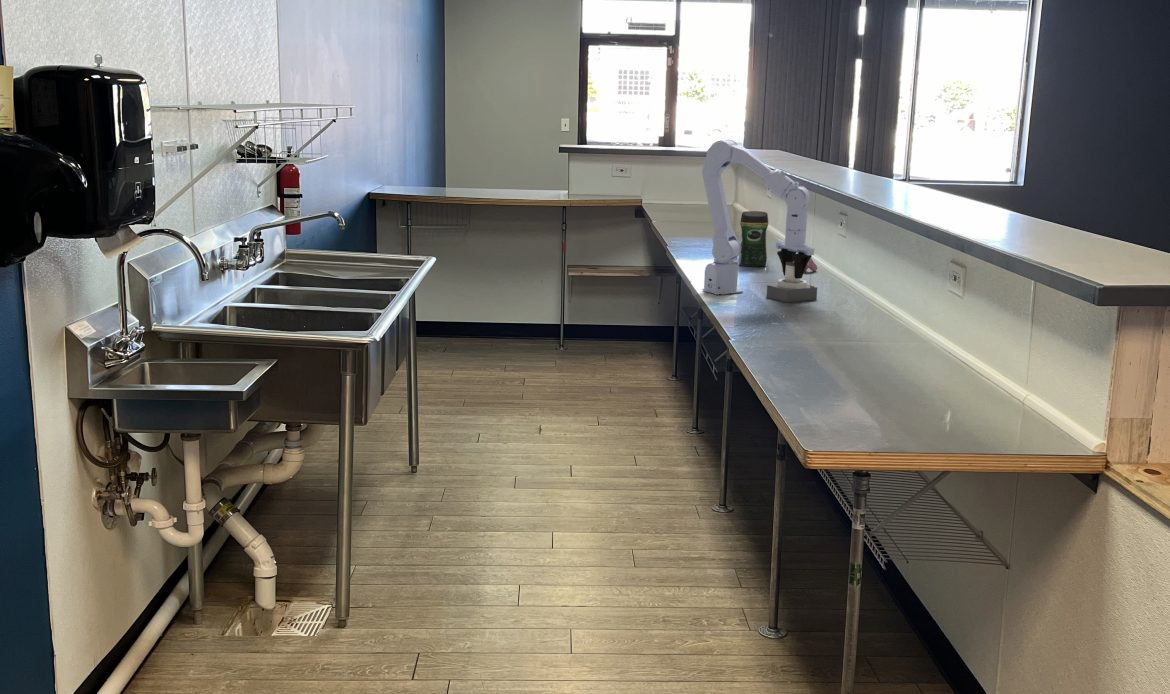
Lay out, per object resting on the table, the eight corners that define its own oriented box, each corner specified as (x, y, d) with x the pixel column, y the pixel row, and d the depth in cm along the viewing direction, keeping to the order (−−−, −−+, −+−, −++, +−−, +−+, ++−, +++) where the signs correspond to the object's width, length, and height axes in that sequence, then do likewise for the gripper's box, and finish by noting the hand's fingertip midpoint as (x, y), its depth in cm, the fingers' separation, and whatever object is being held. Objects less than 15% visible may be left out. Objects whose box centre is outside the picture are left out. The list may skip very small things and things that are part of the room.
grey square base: (786, 302, 292) (787, 285, 291) (766, 296, 300) (767, 279, 298) (816, 299, 297) (817, 282, 296) (796, 293, 305) (797, 277, 304)
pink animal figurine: (786, 273, 349) (782, 256, 345) (793, 266, 351) (790, 248, 348) (812, 277, 342) (808, 259, 339) (819, 269, 345) (815, 252, 341)
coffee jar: (765, 263, 358) (769, 210, 354) (766, 267, 350) (770, 212, 346) (737, 262, 359) (740, 209, 355) (738, 266, 351) (741, 212, 347)
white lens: (791, 284, 294) (792, 263, 293) (781, 282, 298) (782, 261, 297) (803, 283, 296) (804, 262, 295) (793, 281, 300) (794, 260, 299)
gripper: (823, 232, 289) (820, 279, 293) (790, 226, 302) (787, 271, 305) (804, 233, 286) (801, 281, 289) (771, 227, 298) (768, 273, 302)
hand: (792, 276), depth 297 cm, fingers closed on white lens, 4 cm apart
